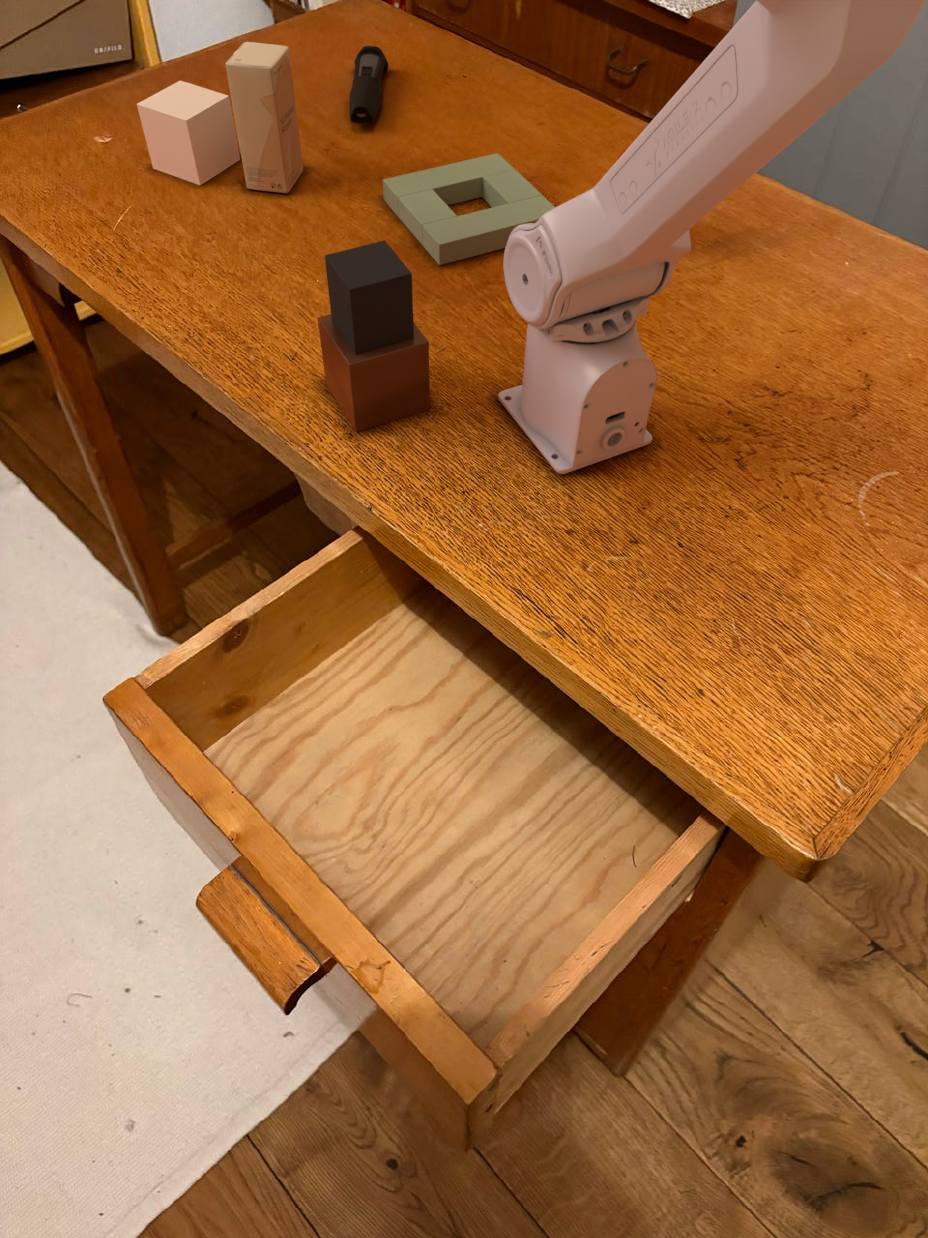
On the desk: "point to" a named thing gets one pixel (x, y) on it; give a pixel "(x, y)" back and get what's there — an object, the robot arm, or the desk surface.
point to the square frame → (435, 188)
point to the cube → (376, 377)
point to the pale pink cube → (189, 132)
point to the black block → (370, 296)
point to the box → (265, 116)
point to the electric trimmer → (367, 84)
